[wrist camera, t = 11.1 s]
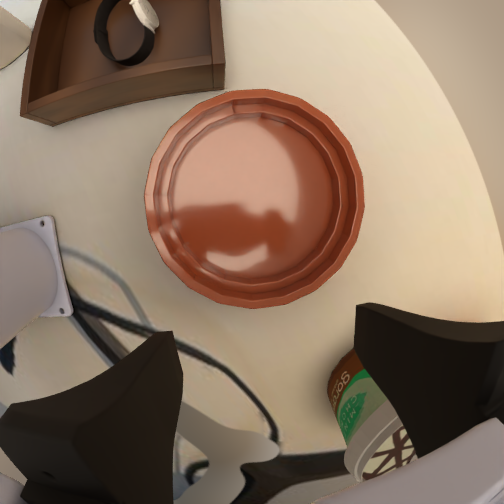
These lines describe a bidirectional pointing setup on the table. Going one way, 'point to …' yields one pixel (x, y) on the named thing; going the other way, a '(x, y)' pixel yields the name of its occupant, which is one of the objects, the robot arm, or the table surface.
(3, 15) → the eye dropper bottle
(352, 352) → the food container
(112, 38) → the holder
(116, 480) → the robot arm
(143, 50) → the watch
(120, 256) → the table surface
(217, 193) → the bowl
